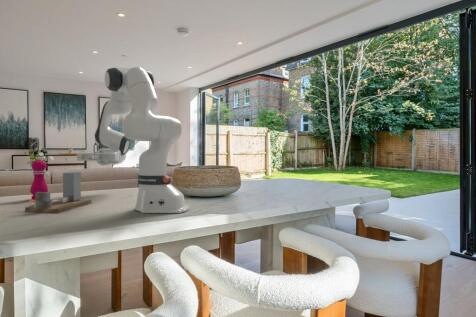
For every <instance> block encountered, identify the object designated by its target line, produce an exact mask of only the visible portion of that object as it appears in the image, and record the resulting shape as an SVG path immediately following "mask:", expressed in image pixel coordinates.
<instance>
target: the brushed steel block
mask: <svg viewBox="0 0 476 317" xmlns="http://www.w3.org/2000/svg"><path fill="white" fill-rule="evenodd" d="M81 180H82V173H81V172H80V171H79V172H77V171H69V172H63V173H62V196H61V197H58V198H57V200H58V203H65V202H68V201H76V200H82V189H81V188H82V181H81Z"/></svg>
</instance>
